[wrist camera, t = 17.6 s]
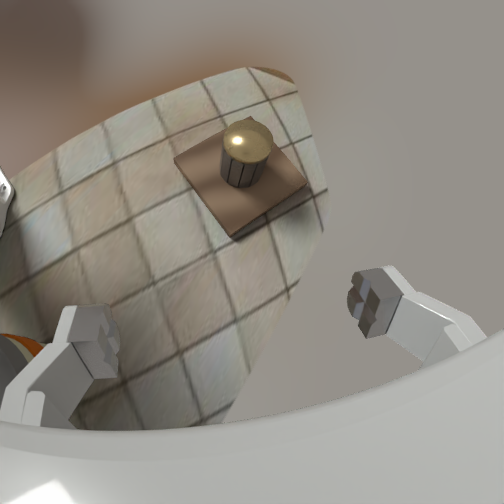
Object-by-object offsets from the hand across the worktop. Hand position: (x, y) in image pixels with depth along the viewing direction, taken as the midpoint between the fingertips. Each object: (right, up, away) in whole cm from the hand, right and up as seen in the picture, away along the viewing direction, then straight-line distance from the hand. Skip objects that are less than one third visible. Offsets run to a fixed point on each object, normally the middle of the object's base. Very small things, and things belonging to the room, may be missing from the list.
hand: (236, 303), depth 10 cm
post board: (-1, +13, +35) cm, 37 cm away
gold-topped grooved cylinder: (-1, +13, +33) cm, 36 cm away
